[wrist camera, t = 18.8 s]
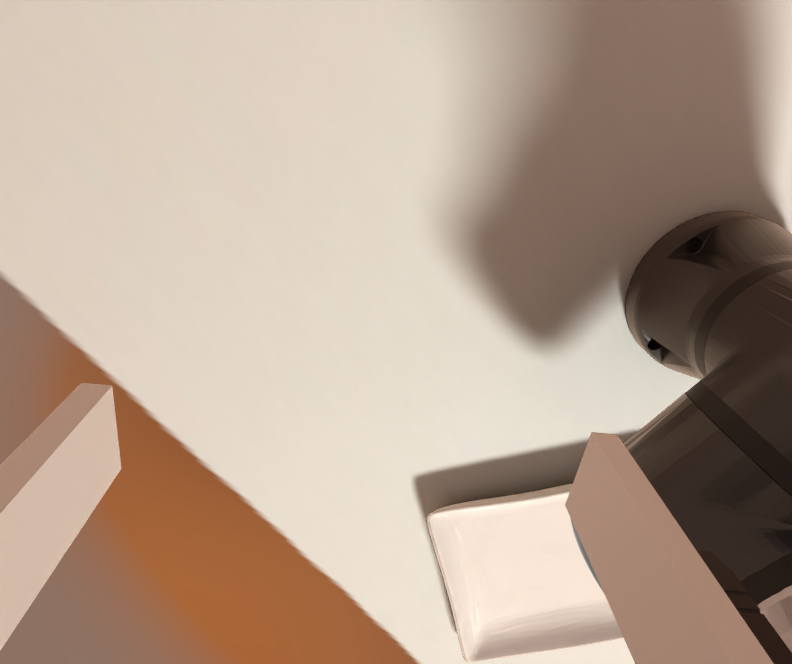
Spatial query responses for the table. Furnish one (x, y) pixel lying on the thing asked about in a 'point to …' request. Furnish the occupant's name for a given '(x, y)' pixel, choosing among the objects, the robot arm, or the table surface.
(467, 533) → the square plate
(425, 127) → the table surface
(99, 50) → the table surface
